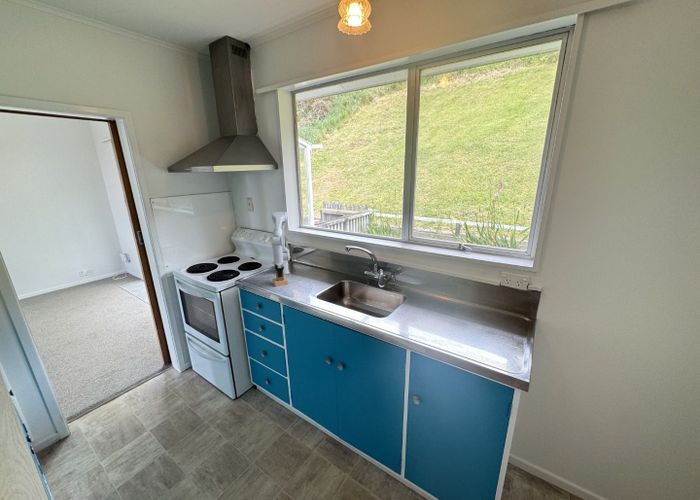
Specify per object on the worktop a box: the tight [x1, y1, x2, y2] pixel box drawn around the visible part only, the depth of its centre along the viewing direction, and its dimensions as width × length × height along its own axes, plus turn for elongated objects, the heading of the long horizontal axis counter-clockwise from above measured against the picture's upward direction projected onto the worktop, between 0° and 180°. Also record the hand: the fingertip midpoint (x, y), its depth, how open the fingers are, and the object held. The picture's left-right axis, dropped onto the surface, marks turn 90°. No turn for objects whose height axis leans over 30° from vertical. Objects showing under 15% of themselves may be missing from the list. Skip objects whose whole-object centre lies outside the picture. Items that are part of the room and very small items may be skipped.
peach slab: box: [271, 276, 289, 287], centre depth 183 cm, size 8×8×3 cm
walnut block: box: [275, 271, 285, 281], centre depth 183 cm, size 4×4×5 cm
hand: (279, 275), depth 182 cm, fingers open, 7 cm apart
